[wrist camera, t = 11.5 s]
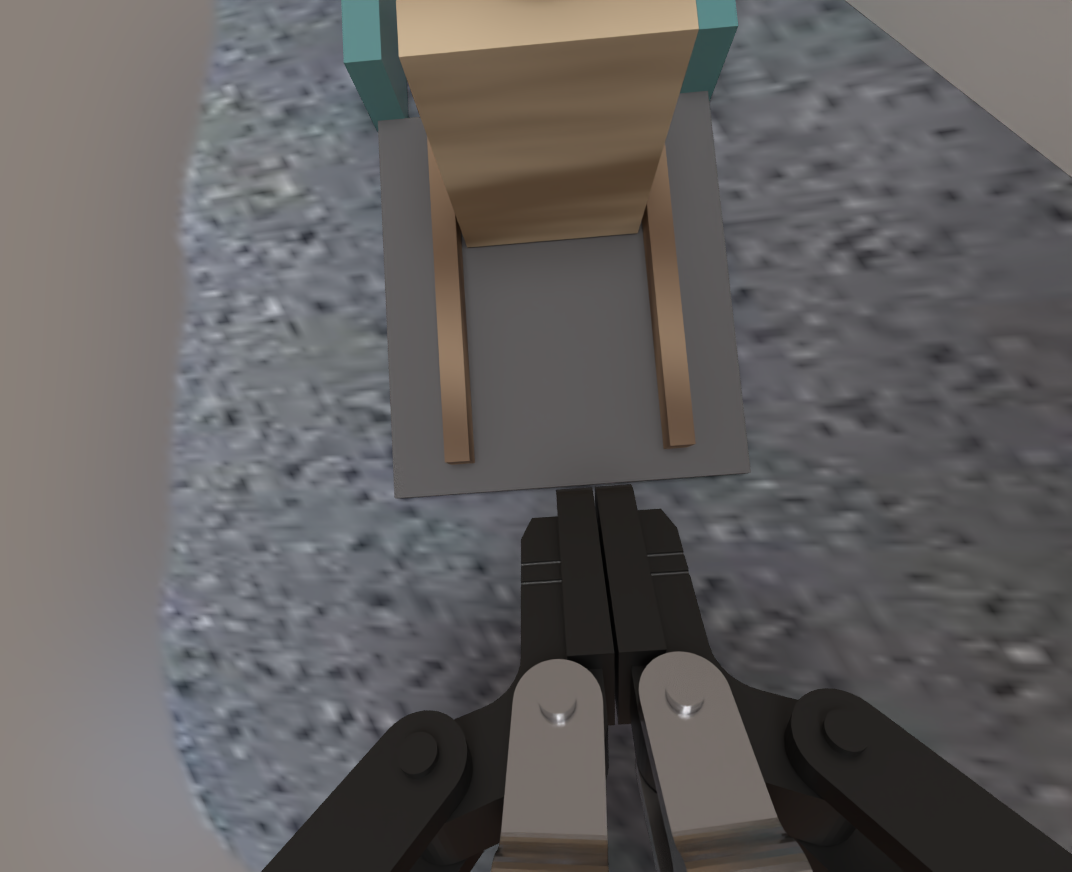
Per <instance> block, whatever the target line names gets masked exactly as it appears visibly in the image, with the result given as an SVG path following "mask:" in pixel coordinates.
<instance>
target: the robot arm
mask: <svg viewBox="0 0 1072 872" xmlns="http://www.w3.org/2000/svg"><path fill="white" fill-rule="evenodd" d="M556 495H557V510H558V516H556V517H542V518H532V519H531V521H530V523H529V525H528V527H527V529H526V531H525V533H524V535H523V537H522V539H521V663H520V667H519V671H518V674H517V676H516V679H515V680H514V682H513V684H512V685H511V687H510V688H509V689H508V690H507V691H506V693H504V694H503V695H502V696H501V697H500V698H499V699H497V700H496V701H495V702H493V703H491V704H489V705H487V706H485V707H483V708H481V709H478V710H476V711H474V712H471V713H469V714H466V715H464V716H462V717H459V718H457V719H454V720H453V719H452V718H451V717H449V716H448V715H446V714H444V713H441V712H437V711H419V712H415V713H412V714H409V715H407V716H405V717H404V718H402V719H400V720H399V721H397V722H396V723H395V724H394V725H393V726H392V727H390V728H389V729H388V730H387V732H386V733H385V734H384V735H383V736H382V737H381V738H380V739H379V741H378V742H377V743H376V744H375V745H374V746H373V747H372V748H371V749H370V751H369V752H368V753H367V754H366V755H365V756H364V757H363V758H362V760H361V761H360V762H359V763H358V764H357V765H356V766H355V767H354V769H353V770H352V771H351V772H350V773H349V774H348V775H347V776H346V777H345V779H344V780H343V781H342V782H341V783H340V784H339V785H338V786H337V788H336V789H335V790H334V791H333V792H332V793H331V794H330V795H329V796H328V798H327V799H326V800H325V801H324V802H323V803H322V804H321V805H320V807H319V808H318V809H317V810H316V811H315V812H314V813H313V814H312V815H311V817H310V818H309V819H308V820H307V821H306V822H305V823H304V824H303V826H302V827H301V828H300V829H299V830H298V831H297V832H296V833H295V834H294V836H293V837H292V838H291V839H290V840H289V841H288V842H287V843H286V845H285V846H284V847H283V848H282V849H281V850H280V851H279V852H278V853H277V855H276V856H275V857H274V858H273V859H272V860H271V861H270V862H269V864H268V865H267V866H266V867H265V868H264V869H263V870H262V871H261V872H470V871H471V870H472V868H473V867H474V865H475V864H476V862H477V861H478V859H479V858H480V856H481V855H482V853H483V852H484V850H485V849H488V848H490V847H492V846H494V845H496V844H498V843H499V847H498V850H497V851H496V853H495V856H494V859H493V863H492V868H491V872H609V871H608V842H607V811H606V778H607V774H608V768H609V763H608V725H615V701H616V709H617V717H618V725H619V724H631V725H632V732H633V739H634V746H635V753H636V758H635V771H636V777H637V782H638V786H639V791H640V796H641V801H642V805H643V810H644V815H645V820H646V824H647V829H648V834H649V839H650V843H651V848H652V853H653V858H654V862H655V867H656V872H1072V854H1071V853H1069V852H1068V851H1067V850H1065V849H1064V848H1062V847H1061V846H1060V845H1058V844H1057V843H1056V842H1054V841H1053V840H1052V839H1050V838H1049V837H1048V836H1046V835H1045V834H1044V833H1042V832H1041V831H1040V830H1038V829H1037V828H1036V827H1034V826H1033V825H1032V824H1030V823H1029V822H1028V821H1026V820H1025V819H1024V818H1022V817H1021V816H1020V815H1018V814H1017V813H1015V812H1014V811H1013V810H1011V809H1010V808H1009V807H1007V806H1006V805H1005V804H1003V803H1002V802H1001V801H999V800H998V799H997V798H995V797H994V796H993V795H991V794H990V793H989V792H987V791H986V790H985V789H983V788H982V787H981V786H979V785H978V784H977V783H975V782H974V781H972V780H971V779H970V778H968V777H967V776H966V775H964V774H963V773H962V772H960V771H959V770H958V769H956V768H955V767H954V766H952V765H951V764H950V763H948V762H947V761H946V760H944V759H943V758H942V757H940V756H939V755H938V754H936V753H935V752H934V751H932V750H931V749H929V748H928V747H927V746H925V745H924V744H923V743H921V742H920V741H919V740H917V739H916V738H915V737H913V736H912V735H911V734H909V733H908V732H907V731H905V730H904V729H903V728H901V727H900V726H899V725H897V724H896V723H895V722H893V721H892V720H891V719H889V718H888V717H886V716H885V715H884V714H882V713H881V712H880V711H878V710H877V709H876V708H874V707H873V706H872V705H870V704H869V703H867V702H866V701H864V700H863V699H861V698H860V697H857V696H855V695H853V694H851V693H848V692H845V691H842V690H837V689H817V690H814V691H811V692H809V693H807V694H805V695H804V696H803V697H802V698H800V699H799V700H796V699H792V698H788V697H784V696H780V695H776V694H772V693H769V692H765V691H761V690H758V689H755V688H751V687H749V686H747V685H745V684H743V683H741V682H739V681H738V680H736V679H735V678H733V677H732V676H731V675H729V674H728V673H727V672H726V671H725V670H724V669H723V668H722V667H721V666H720V664H719V663H718V662H717V660H716V659H715V657H714V655H713V654H712V652H711V649H710V646H709V643H708V640H707V636H706V632H705V629H704V625H703V621H702V618H701V614H700V610H699V607H698V603H697V599H696V596H695V592H694V588H693V585H692V581H691V577H690V575H689V572H688V566H687V563H686V559H685V556H684V554H683V548H682V544H681V541H680V537H679V533H678V530H677V527H676V526H675V525H674V524H673V523H672V521H671V520H670V519H669V518H668V517H667V516H666V514H665V513H664V512H663V511H662V510H661V509H650V510H637V505H636V501H635V496H634V491H633V487H632V485H631V484H627V485H614V486H600V487H595V503H594V496H593V489H592V487H589V488H576V489H562V490H556Z"/></svg>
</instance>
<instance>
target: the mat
mask: <svg viewBox="0 0 1072 872" xmlns="http://www.w3.org/2000/svg"><path fill="white" fill-rule="evenodd" d="M378 136H379V158H380V181H381V203H382V225H383V248H384V270H385V293H386V315H387V337H388V360H389V382H390V404H391V427H392V449H393V472H394V494H395V498H411V497H425V496H439V495H453V494H466V493H480V492H494V491H508V490H522V489H535V488H549V487H563V486H577V485H591V484H604V483H618V482H632V481H646V480H659V479H673V478H687V477H701V476H715V475H728V474H742V473H751V471H750V462H749V453H748V444H747V435H746V426H745V417H744V408H743V400H742V391H741V382H740V373H739V364H738V355H737V346H736V337H735V328H734V319H733V310H732V301H731V292H730V283H729V274H728V265H727V256H726V247H725V238H724V229H723V220H722V211H721V202H720V193H719V184H718V175H717V167H716V158H715V149H714V140H713V131H712V122H711V113H710V104H709V95H708V91H700V92H689V93H680V94H679V97H678V100H677V104H676V107H675V110H674V114H673V117H672V120H671V124H670V127H669V130H668V134H667V137H666V140H665V147H666V157H667V167H668V177H669V186H670V196H671V206H672V216H673V226H674V235H675V245H676V255H677V265H678V275H679V285H680V294H681V304H682V314H683V324H684V334H685V343H686V353H687V363H688V373H689V383H690V393H691V402H692V412H693V422H694V432H695V442H696V444H694V445H692V446H690V447H685V448H672V449H664V448H663V437H662V427H661V417H660V406H659V396H658V385H657V375H656V364H655V354H654V343H653V333H652V323H651V312H650V302H649V291H648V281H647V270H646V260H645V249H644V239H643V228H642V220H641V224H640V227H639V230H638V233H633V234H622V235H610V236H598V237H586V238H574V239H562V240H551V241H539V242H527V243H515V244H503V245H491V246H480V247H468V248H467V246H466V243H465V240H464V237H463V234H462V232H461V241H462V257H463V274H464V291H465V307H466V324H467V341H468V357H469V374H470V391H471V407H472V424H473V441H474V457H475V463H469V464H456V465H451V464H448V463H445V457H444V439H443V420H442V402H441V384H440V365H439V347H438V329H437V310H436V292H435V273H434V255H433V237H432V218H431V200H430V181H429V163H428V145H427V134H426V131H425V129H424V126H423V123H422V120H421V117H414V118H404V119H393V120H382V121H378Z"/></svg>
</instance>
